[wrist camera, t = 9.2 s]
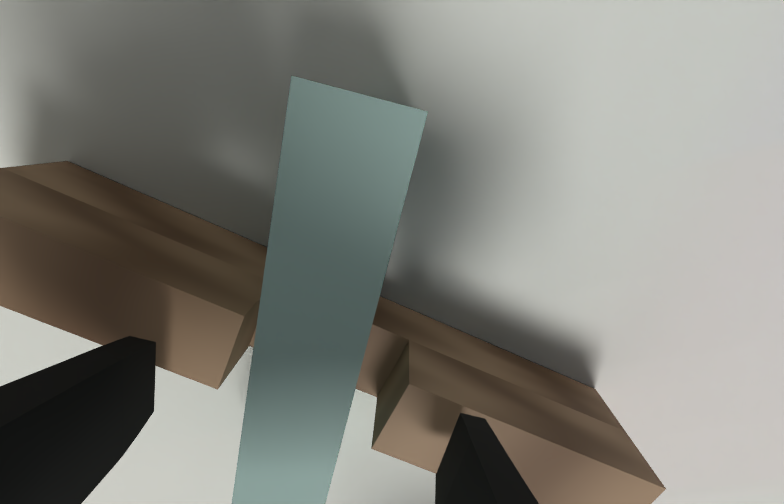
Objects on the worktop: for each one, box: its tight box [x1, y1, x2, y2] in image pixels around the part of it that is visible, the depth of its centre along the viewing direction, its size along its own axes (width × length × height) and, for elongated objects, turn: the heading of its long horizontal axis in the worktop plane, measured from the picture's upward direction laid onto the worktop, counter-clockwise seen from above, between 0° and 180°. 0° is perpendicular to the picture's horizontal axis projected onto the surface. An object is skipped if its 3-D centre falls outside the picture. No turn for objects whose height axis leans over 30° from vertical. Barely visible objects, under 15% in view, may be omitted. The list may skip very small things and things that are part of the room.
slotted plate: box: [232, 75, 428, 504], centre depth 10 cm, size 14×2×6 cm, turn 166°
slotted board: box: [0, 161, 666, 504], centre depth 11 cm, size 20×2×4 cm, turn 65°
